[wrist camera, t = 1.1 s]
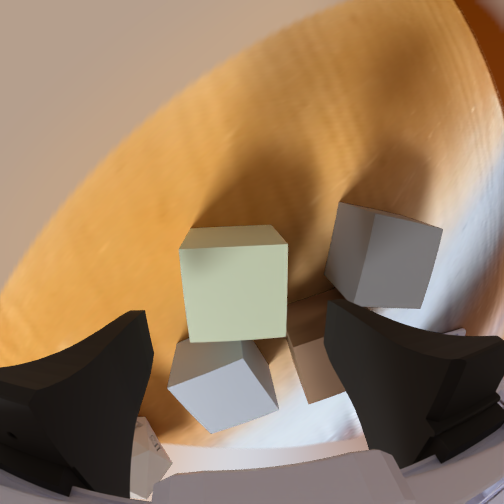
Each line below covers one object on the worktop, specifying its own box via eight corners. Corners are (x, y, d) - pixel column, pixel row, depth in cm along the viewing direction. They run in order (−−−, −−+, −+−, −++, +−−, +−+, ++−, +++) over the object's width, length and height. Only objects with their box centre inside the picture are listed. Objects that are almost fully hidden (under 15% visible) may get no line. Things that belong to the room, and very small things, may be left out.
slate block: (237, 315, 20) (242, 358, 15) (268, 364, 21) (279, 409, 16) (177, 342, 20) (167, 388, 15) (211, 387, 21) (210, 433, 17)
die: (191, 432, 24) (159, 463, 15) (160, 491, 21) (124, 531, 12) (122, 391, 25) (68, 398, 16) (96, 450, 22) (44, 471, 13)
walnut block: (344, 284, 20) (376, 317, 15) (352, 339, 21) (379, 377, 17) (277, 306, 20) (293, 347, 15) (292, 360, 21) (308, 404, 17)
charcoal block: (399, 214, 19) (442, 229, 14) (383, 280, 20) (420, 308, 15) (338, 201, 18) (375, 213, 13) (323, 274, 20) (352, 306, 15)
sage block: (271, 224, 18) (288, 244, 13) (271, 297, 20) (285, 336, 15) (190, 228, 18) (178, 249, 13) (197, 301, 19) (190, 342, 14)
